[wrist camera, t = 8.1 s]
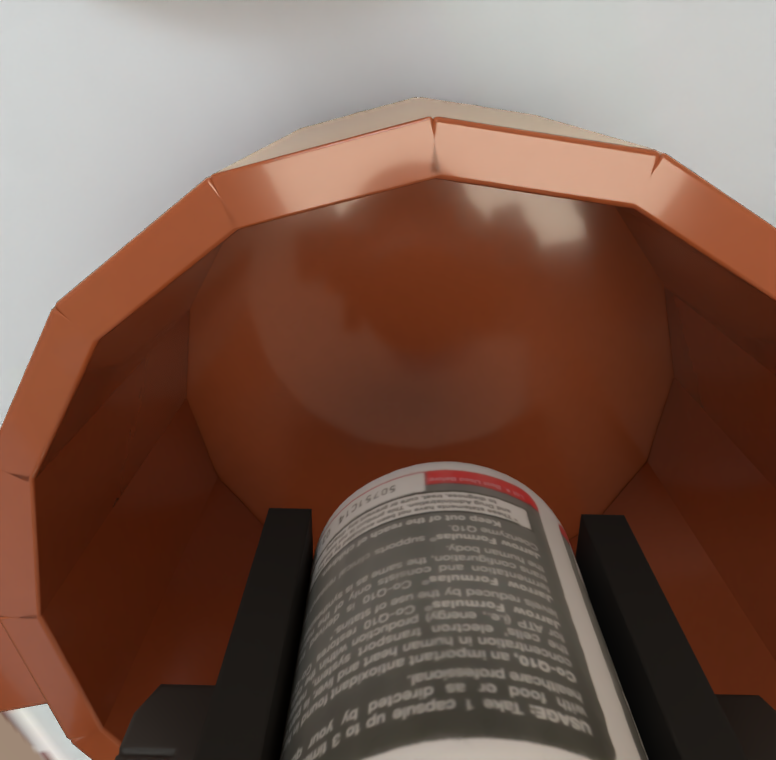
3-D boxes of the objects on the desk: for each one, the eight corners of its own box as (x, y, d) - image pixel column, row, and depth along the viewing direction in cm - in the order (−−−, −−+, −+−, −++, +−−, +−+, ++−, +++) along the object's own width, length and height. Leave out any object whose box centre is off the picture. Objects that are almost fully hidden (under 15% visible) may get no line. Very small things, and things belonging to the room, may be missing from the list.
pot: (797, 523, 23) (1053, 813, 14) (188, 641, 26) (71, 955, 17) (773, -1, 18) (1177, -85, 8) (-8, 211, 20) (-358, 326, 11)
